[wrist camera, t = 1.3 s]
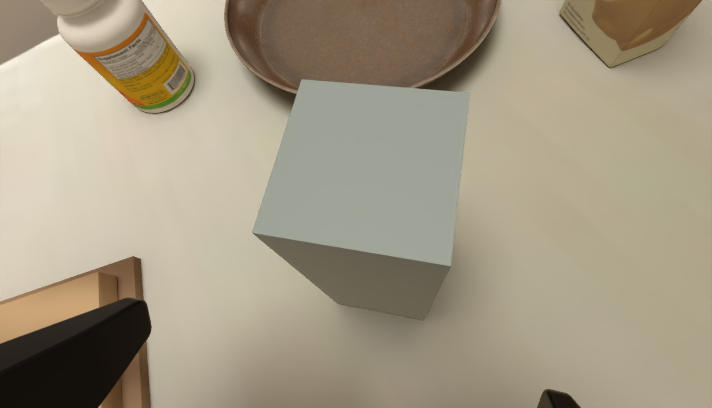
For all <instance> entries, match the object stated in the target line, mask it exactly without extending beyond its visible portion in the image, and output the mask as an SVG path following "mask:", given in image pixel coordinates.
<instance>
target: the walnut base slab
mask: <svg viewBox="0 0 712 408" xmlns="http://www.w3.org/2000/svg"><path fill="white" fill-rule="evenodd" d="M95 272H102V273H105V274H109V275H113V276H116V277H117V296H118V300H121V299H124V298H127V297H132V298H136V299H141V300H143V289H142V274H141V259H139V258H136V257H134V256H133V257H130V258H127V259H124V260H121V261H118V262H115V263H112V264H109V265H106V266H103V267H100V268H98V269H95V270H92V271H89V272H86V273H83V274H80V275H77V276H74V277H71V278H68V279H65V280H62V281H60V282H57V283H54V284H51V285H48V286H45V287H42V288H39V289H36V290H33V291H30V292H27V293H24V294H22V295H19V296H16V297H13V298H10V299H7V300H4V301H1V302H0V305H2V304H5V303H8V302H11V301H14V300H17V299H20V298H23V297H26V296H28V295H31V294H34V293H37V292H40V291H43V290H46V289H49V288H52V287H55V286H58V285H61V284H63V283H66V282H69V281H72V280H75V279H78V278H81V277H84V276H87V275H90V274H93V273H95ZM121 387H122V408H150V393H149V378H148V363H147V348H146V342H145V343H144V344H143V346H142V347H141V349H140V350H139V352H138V353H137V355H136V356H135V357H134V359H133V360H132V362H131V363H130V365H129V366H128V368H127V369H126V370H125V372H124V373H123V375H122V376H121Z"/></svg>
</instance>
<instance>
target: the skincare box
mask: <svg viewBox="0 0 712 408" xmlns="http://www.w3.org/2000/svg"><path fill="white" fill-rule="evenodd" d="M701 1H702V0H565V2H564V4H563V6H562V8H561V10H560V14H561V15H562V17H563V18H564V19H565V20H566V21H567V22H568V23H569V25H570V26H571V27H572V28H573V29H574V30H575V31H576V33H577V34H578V35H579V36H580V37H581V38H582V39H583V40H584V41H585V42H586V43H587V45H588V46H589V47H590V48H591V49H592V50H593V51H594V52H595V53H596V54H597V55H598V56H599V57H600V58H601V59H602V60H603V61H604V62H605V63H606V65H607V66H609V67H613V66H616V65H618V64H621V63H624V62H626V61H629V60H631V59H634V58H637V57H639V56H642V55H644V54H646V53H649V52H651V51H653V50H656V49H658V48H660V47H662V46H663V45H664V43H665V42H666V41H667V40H668V39H669V38H670V37H671V35H672V34H673V33H674V32H675V31H676V30H677V28H678V27H679V26H680V25H681V24H682V23H683V22H684V20H685V19H686V18H687V17H688V16H689V15H690V14H691V12H692V11H693V10H694V9H695V8H696V7H697V6H698V4H699V3H700V2H701Z"/></svg>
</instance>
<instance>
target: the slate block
mask: <svg viewBox="0 0 712 408" xmlns="http://www.w3.org/2000/svg"><path fill="white" fill-rule="evenodd" d="M469 96H470V93H467V92H454V91H442V90H429V89H417V88H404V87H391V86H379V85H366V84H354V83H341V82H329V81H316V80H304V79H301V82H300V86H299V89H298V92H297V95H296V98H295V101H294V104H293V107H292V110H291V113H290V117H289V120H288V123H287V126H286V129H285V132H284V135H283V138H282V141H281V144H280V148H279V151H278V154H277V157H276V160H275V163H274V166H273V169H272V172H271V175H270V179H269V182H268V185H267V188H266V191H265V194H264V197H263V200H262V203H261V206H260V210H259V213H258V216H257V219H256V222H255V225H254V228H253V231H252V233H253V234H254V235H255V236H257V237H258V238H259V239H260V240H261V241H263V242H264V243H265V244H266V245H267V246H269V247H270V248H271V249H272V250H273V251H275V252H276V253H277V254H278V255H279V256H281V257H282V258H283V259H284V260H286V261H287V262H288V263H289V264H290V265H292V266H293V267H294V268H295V269H296V270H298V271H299V272H300V273H301V274H302V275H304V276H305V277H306V278H307V279H309V280H310V281H311V282H312V283H313V284H315V285H316V286H317V287H318V288H319V289H321V290H322V291H323V292H324V293H325V294H327V295H328V296H329V297H330V298H331V299H333V300H334V301H335V302H336V303H338V304H344V305H349V306H354V307H359V308H364V309H369V310H374V311H379V312H384V313H389V314H394V315H399V316H404V317H409V318H414V319H419V320H424V319H425V317H426V315H427V313H428V311H429V309H430V307H431V305H432V303H433V301H434V299H435V297H436V295H437V293H438V291H439V289H440V287H441V285H442V283H443V281H444V279H445V277H446V275H447V273H448V271H449V269H450V267H451V260H452V251H453V242H454V233H455V223H456V214H457V205H458V196H459V187H460V178H461V169H462V160H463V151H464V142H465V133H466V124H467V114H468V105H469Z"/></svg>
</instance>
